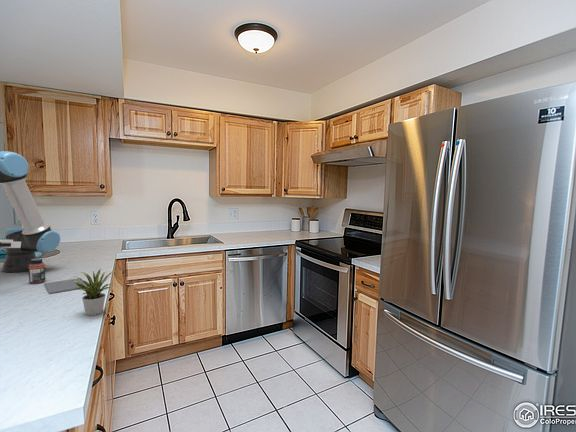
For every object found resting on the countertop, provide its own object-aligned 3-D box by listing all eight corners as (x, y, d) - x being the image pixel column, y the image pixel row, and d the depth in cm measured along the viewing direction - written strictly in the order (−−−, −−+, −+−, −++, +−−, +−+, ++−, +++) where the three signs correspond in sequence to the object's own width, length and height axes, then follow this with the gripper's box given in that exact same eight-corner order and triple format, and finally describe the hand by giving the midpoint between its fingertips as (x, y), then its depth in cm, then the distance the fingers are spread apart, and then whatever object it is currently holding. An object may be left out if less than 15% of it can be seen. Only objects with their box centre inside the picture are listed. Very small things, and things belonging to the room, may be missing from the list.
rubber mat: (44, 284, 134) (44, 283, 134) (80, 279, 144) (80, 277, 144) (49, 294, 123) (49, 292, 123) (88, 287, 133) (88, 286, 133)
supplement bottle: (32, 281, 139) (32, 257, 138) (47, 280, 141) (47, 257, 140) (26, 284, 133) (25, 260, 133) (42, 283, 136) (41, 260, 135)
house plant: (111, 301, 117) (111, 262, 116) (125, 310, 109) (125, 268, 108) (68, 311, 106) (68, 268, 105) (80, 323, 98) (80, 275, 97)
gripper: (-61, 250, 121) (8, 249, 138) (-53, 256, 106) (23, 254, 123) (-58, 232, 121) (10, 233, 138) (-51, 235, 107) (25, 237, 124)
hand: (16, 243), depth 131 cm, fingers open, 13 cm apart
